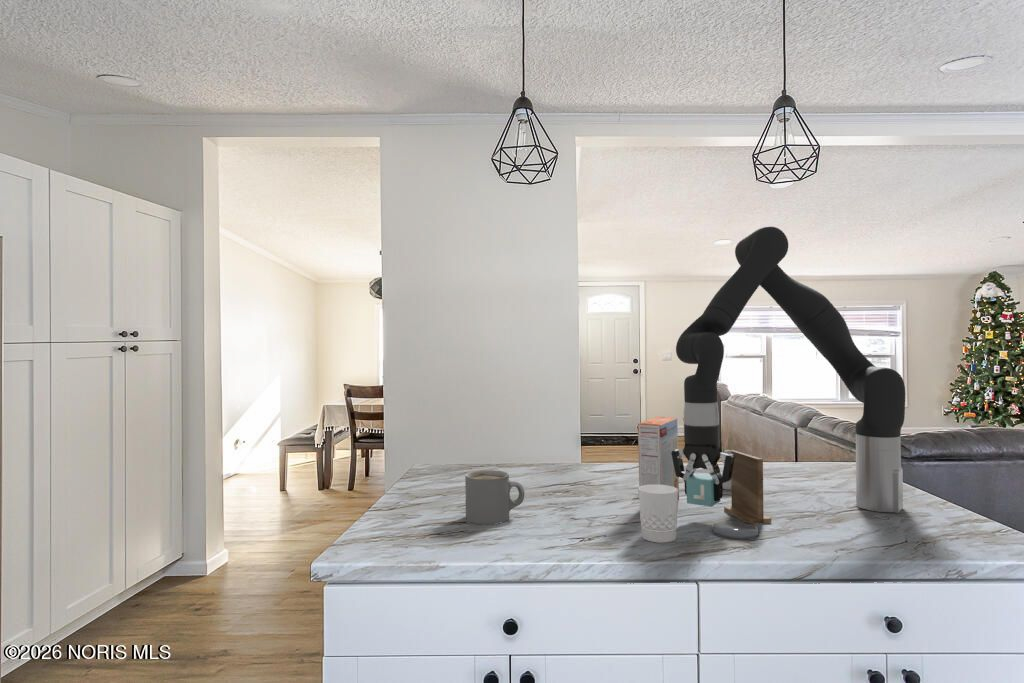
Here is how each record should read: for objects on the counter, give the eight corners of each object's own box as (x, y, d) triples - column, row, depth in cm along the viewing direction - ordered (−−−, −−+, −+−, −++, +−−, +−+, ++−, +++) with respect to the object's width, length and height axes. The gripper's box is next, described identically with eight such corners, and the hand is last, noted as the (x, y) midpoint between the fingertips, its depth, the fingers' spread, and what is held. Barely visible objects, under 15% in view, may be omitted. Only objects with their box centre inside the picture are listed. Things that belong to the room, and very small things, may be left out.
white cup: (650, 529, 135) (649, 482, 135) (685, 536, 130) (684, 487, 130) (632, 539, 129) (631, 489, 129) (668, 546, 124) (667, 495, 124)
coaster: (763, 531, 133) (763, 526, 133) (749, 542, 126) (749, 537, 126) (721, 523, 138) (721, 519, 138) (705, 534, 131) (705, 529, 131)
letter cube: (720, 501, 141) (719, 476, 141) (711, 506, 137) (710, 481, 137) (696, 498, 145) (695, 473, 145) (686, 503, 140) (686, 478, 140)
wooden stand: (743, 509, 150) (743, 450, 150) (771, 522, 139) (770, 458, 139) (724, 511, 149) (723, 451, 149) (750, 524, 138) (749, 459, 138)
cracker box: (656, 498, 161) (655, 416, 161) (680, 501, 158) (679, 417, 158) (637, 511, 149) (636, 422, 149) (662, 514, 146) (661, 423, 146)
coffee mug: (463, 524, 140) (462, 479, 140) (468, 512, 150) (467, 470, 150) (523, 524, 139) (523, 479, 139) (525, 512, 149) (524, 469, 149)
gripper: (739, 422, 139) (741, 499, 139) (677, 418, 148) (679, 491, 148) (727, 426, 133) (729, 507, 133) (663, 422, 142) (665, 498, 142)
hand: (703, 498), depth 141 cm, fingers closed on letter cube, 5 cm apart
